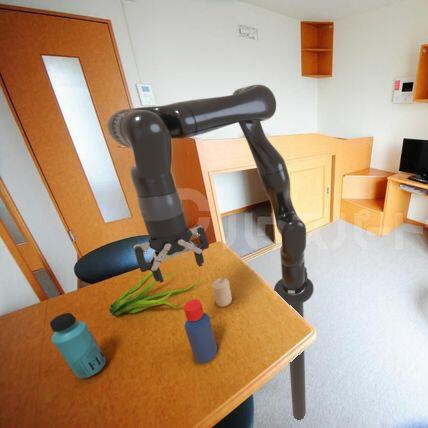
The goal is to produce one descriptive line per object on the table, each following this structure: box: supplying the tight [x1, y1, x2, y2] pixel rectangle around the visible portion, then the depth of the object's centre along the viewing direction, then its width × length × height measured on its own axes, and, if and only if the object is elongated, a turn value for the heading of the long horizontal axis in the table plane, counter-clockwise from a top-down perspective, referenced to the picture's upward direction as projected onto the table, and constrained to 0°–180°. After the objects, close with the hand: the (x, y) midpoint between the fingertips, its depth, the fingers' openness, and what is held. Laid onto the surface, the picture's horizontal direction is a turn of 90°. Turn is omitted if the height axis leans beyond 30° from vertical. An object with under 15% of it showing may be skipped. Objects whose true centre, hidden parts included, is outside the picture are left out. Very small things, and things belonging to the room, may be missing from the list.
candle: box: [211, 277, 233, 308], centre depth 87 cm, size 6×6×10 cm
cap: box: [183, 299, 204, 321], centre depth 63 cm, size 4×4×4 cm
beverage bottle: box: [49, 312, 107, 379], centre depth 61 cm, size 6×7×20 cm
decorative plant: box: [108, 255, 210, 317], centre depth 86 cm, size 18×30×15 cm, turn 94°
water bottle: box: [183, 311, 218, 364], centre depth 66 cm, size 6×6×18 cm
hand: (181, 272), depth 57 cm, fingers open, 8 cm apart
